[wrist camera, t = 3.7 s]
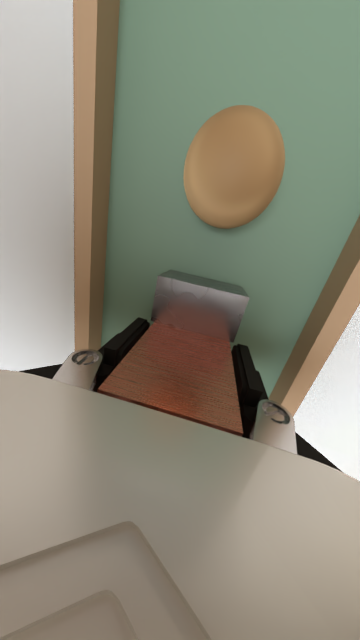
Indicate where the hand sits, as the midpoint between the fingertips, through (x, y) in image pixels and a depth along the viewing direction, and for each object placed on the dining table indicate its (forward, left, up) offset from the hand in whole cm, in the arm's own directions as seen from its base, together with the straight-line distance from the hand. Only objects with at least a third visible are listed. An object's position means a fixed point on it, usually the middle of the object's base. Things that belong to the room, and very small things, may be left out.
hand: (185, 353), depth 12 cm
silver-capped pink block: (+1, 0, -2) cm, 2 cm away
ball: (+7, +6, 0) cm, 9 cm away
